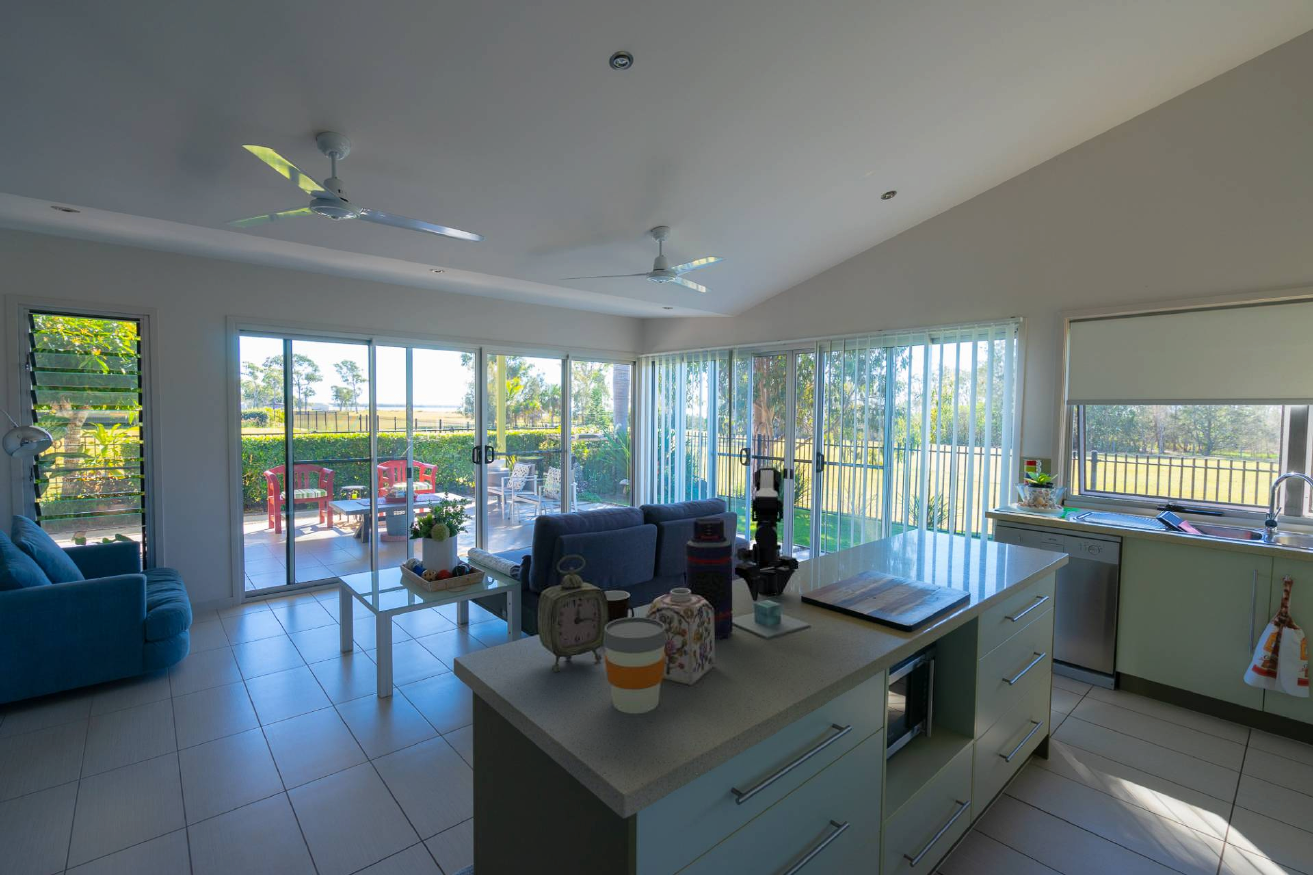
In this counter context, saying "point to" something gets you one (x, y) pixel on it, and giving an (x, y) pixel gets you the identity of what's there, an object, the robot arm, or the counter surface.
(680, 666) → the decorative jar
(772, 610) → the teal block
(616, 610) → the coffee mug
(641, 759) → the counter surface
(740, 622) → the slate pad
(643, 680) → the reusable coffee cup
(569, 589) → the tabletop clock
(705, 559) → the thermos flask
